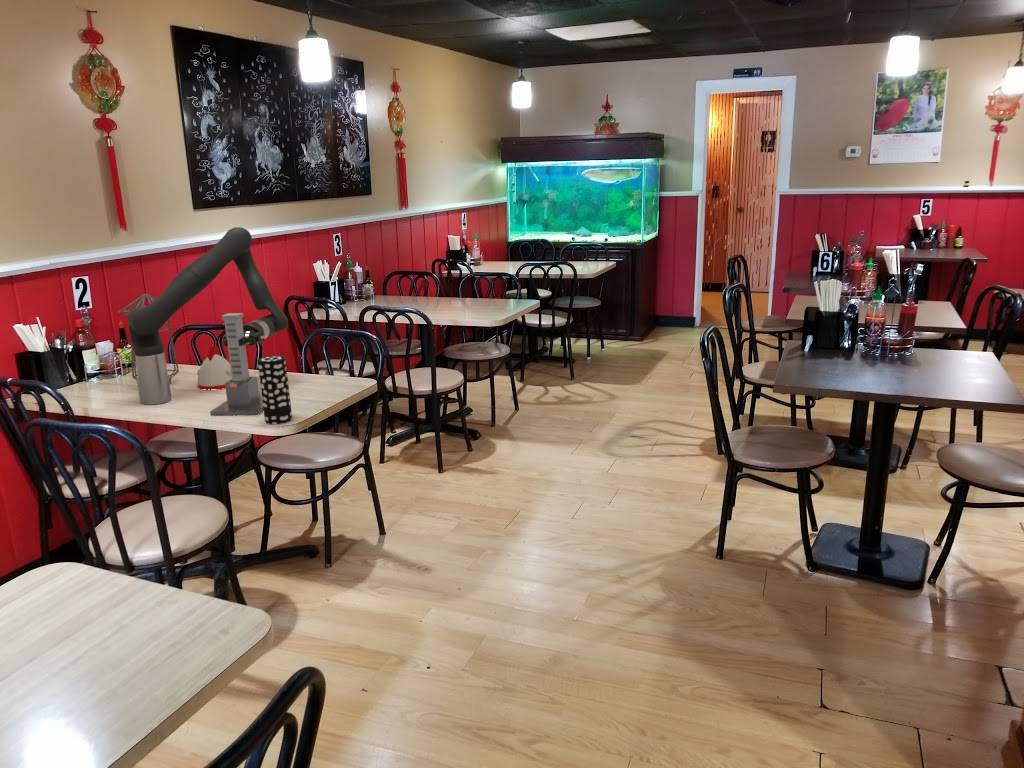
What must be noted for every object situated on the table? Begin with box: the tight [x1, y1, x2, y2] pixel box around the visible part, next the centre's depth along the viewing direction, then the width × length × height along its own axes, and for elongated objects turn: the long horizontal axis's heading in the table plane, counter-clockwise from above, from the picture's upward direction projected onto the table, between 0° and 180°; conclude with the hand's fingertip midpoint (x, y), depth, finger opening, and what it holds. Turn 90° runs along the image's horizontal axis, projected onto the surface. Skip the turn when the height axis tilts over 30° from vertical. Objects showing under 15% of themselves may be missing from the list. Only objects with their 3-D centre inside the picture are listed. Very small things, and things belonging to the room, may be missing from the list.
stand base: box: [209, 376, 264, 417], centre depth 253 cm, size 16×16×10 cm
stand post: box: [221, 312, 250, 382], centre depth 249 cm, size 5×5×23 cm
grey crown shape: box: [196, 345, 232, 391], centre depth 284 cm, size 14×14×15 cm
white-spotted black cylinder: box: [257, 355, 293, 425], centre depth 238 cm, size 8×8×20 cm
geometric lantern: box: [118, 293, 180, 385], centre depth 283 cm, size 16×16×35 cm
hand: (232, 343), depth 246 cm, fingers open, 4 cm apart
